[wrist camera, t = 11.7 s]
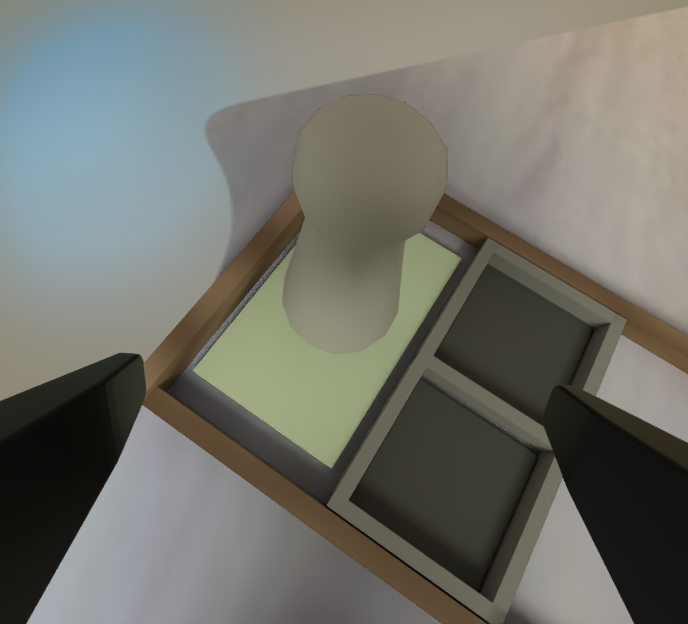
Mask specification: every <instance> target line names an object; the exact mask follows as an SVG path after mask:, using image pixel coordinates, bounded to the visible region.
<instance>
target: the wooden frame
mask: <svg viewBox="0 0 688 624" xmlns="http://www.w3.org/2000/svg"><path fill="white" fill-rule="evenodd" d="M304 219H305V216H304V213H303V211H302V208H301V206H300V203H299V201H298V199H297V196H296V194H295V191H294V192H293V193H292V194H291V195H290V196H289V198H288V199H287V200H286V201H285V202H284V203H283V204H282V206H281V207H280V208H279V209H278V210H277V211H276V212H275V214H274V215H273V216H272V217H271V218H270V219H269V221H268V222H267V223H266V224H265V225H264V226H263V227H262V229H261V230H260V231H259V232H258V233H257V234H256V235H255V237H254V238H253V239H252V240H251V241H250V242H249V243H248V245H247V246H246V247H245V248H244V249H243V250H242V251H241V253H240V254H239V255H238V256H237V257H236V258H235V259H234V261H233V262H232V263H231V264H230V265H229V266H228V268H227V269H226V270H225V271H224V272H223V273H222V274H221V276H220V277H219V278H218V279H217V280H216V281H215V282H214V284H213V285H212V286H211V287H210V288H209V289H208V290H207V292H206V293H205V294H204V295H203V296H202V297H201V299H200V300H199V301H198V302H197V303H196V304H195V306H194V307H193V308H192V309H191V310H190V311H189V312H188V313H187V315H186V316H185V317H184V318H183V319H182V320H181V321H180V323H179V324H178V325H177V326H176V327H175V328H174V329H173V331H172V332H171V333H170V334H169V335H168V336H167V338H166V339H165V340H164V341H163V342H162V343H161V344H160V346H159V347H158V348H157V349H156V350H155V351H154V352H153V353H152V355H151V356H150V357H149V358H148V359H147V360H146V362H145V363H144V371H145V379H146V395H145V399H144V401H143V404H142V405H144V406H145V407H146V408H148V409H149V410H150V411H152V412H153V413H154V414H156V415H157V416H159V417H160V418H161V419H163V420H164V421H165V422H167V423H168V424H170V425H171V426H172V427H174V428H175V429H176V430H178V431H179V432H181V433H182V434H183V435H185V436H186V437H187V438H189V439H190V440H191V441H193V442H194V443H196V444H197V445H198V446H200V447H201V448H202V449H204V450H205V451H207V452H208V453H209V454H211V455H212V456H213V457H215V458H216V459H217V460H219V461H220V462H222V463H223V464H224V465H226V466H227V467H228V468H230V469H231V470H233V471H234V472H235V473H237V474H238V475H239V476H241V477H242V478H243V479H245V480H246V481H248V482H249V483H250V484H252V485H253V486H254V487H256V488H257V489H259V490H260V491H261V492H263V493H264V494H265V495H267V496H268V497H269V498H271V499H272V500H274V501H275V502H276V503H278V504H279V505H280V506H282V507H283V508H285V509H286V510H287V511H289V512H290V513H291V514H293V515H294V516H295V517H297V518H298V519H300V520H301V521H302V522H304V523H305V524H306V525H308V526H309V527H311V528H312V529H313V530H315V531H316V532H317V533H319V534H320V535H321V536H323V537H324V538H326V539H327V540H328V541H330V542H331V543H332V544H334V545H335V546H337V547H338V548H339V549H341V550H342V551H343V552H345V553H346V554H347V555H349V556H350V557H352V558H353V559H354V560H356V561H357V562H358V563H360V564H361V565H363V566H364V567H365V568H367V569H368V570H369V571H371V572H372V573H373V574H375V575H376V576H378V577H379V578H380V579H382V580H383V581H384V582H386V583H387V584H389V585H390V586H391V587H393V588H394V589H395V590H397V591H398V592H400V593H401V594H402V595H404V596H405V597H406V598H408V599H409V600H410V601H412V602H413V603H415V604H416V605H417V606H419V607H420V608H421V609H423V610H424V611H426V612H427V613H428V614H430V615H431V616H432V617H434V618H435V619H436V620H438V621H439V622H441V623H442V624H490V623H488V622H487V621H486V620H484V619H483V618H481V617H480V616H479V615H477V614H476V613H474V612H473V611H472V610H470V609H469V608H468V607H466V606H465V605H463V604H462V603H461V602H459V601H458V600H456V599H455V598H454V597H452V596H451V595H449V594H448V593H447V592H445V591H444V590H443V589H441V588H440V587H438V586H437V585H436V584H434V583H433V582H431V581H430V580H429V579H427V578H426V577H424V576H423V575H422V574H420V573H419V572H417V571H416V570H415V569H413V568H412V567H411V566H409V565H408V564H406V563H405V562H404V561H402V560H401V559H399V558H398V557H397V556H395V555H394V554H392V553H391V552H390V551H388V550H387V549H386V548H384V547H383V546H381V545H380V544H379V543H377V542H376V541H374V540H373V539H372V538H370V537H369V536H367V535H366V534H365V533H363V532H362V531H360V530H359V529H358V528H356V527H355V526H354V525H352V524H351V523H349V522H348V521H347V520H345V519H344V518H342V517H341V516H340V515H338V514H337V513H335V512H334V511H333V510H331V509H330V508H328V507H327V506H326V505H324V504H323V503H322V502H320V501H319V500H317V499H316V498H315V497H313V496H312V495H310V494H309V493H308V492H306V491H305V490H303V489H302V488H301V487H299V486H298V485H297V484H295V483H294V482H292V481H291V480H290V479H288V478H287V477H285V476H284V475H283V474H281V473H280V472H278V471H277V470H276V469H274V468H273V467H271V466H270V465H269V464H267V463H266V462H265V461H263V460H262V459H260V458H259V457H258V456H256V455H255V454H253V453H252V452H251V451H249V450H248V449H246V448H245V447H244V446H242V445H241V444H239V443H238V442H237V441H235V440H234V439H233V438H231V437H230V436H228V435H227V434H226V433H224V432H223V431H221V430H220V429H219V428H217V427H216V426H214V425H213V424H212V423H210V422H209V421H208V420H206V419H205V418H203V417H202V416H201V415H199V414H198V413H196V412H195V411H194V410H192V409H191V408H189V407H188V406H187V405H185V404H184V403H182V402H181V401H180V400H178V399H177V398H176V397H174V396H173V395H171V394H170V393H169V392H167V390H168V389H169V388H170V387H171V386H172V384H173V383H174V382H175V381H176V379H177V378H178V377H179V376H180V375H181V373H182V372H183V371H184V370H185V369H186V367H187V366H188V365H189V364H190V363H191V361H192V360H193V359H194V358H195V356H196V355H197V354H198V353H199V352H200V350H201V349H202V348H203V347H204V346H205V344H206V343H207V342H208V341H209V340H210V338H211V337H212V336H213V335H214V333H215V332H216V331H217V330H218V329H219V327H220V326H221V325H222V324H223V323H224V321H225V320H226V319H227V318H228V317H229V315H230V314H231V313H232V312H233V310H234V309H235V308H236V307H237V306H238V304H239V303H240V302H241V301H242V300H243V298H244V297H245V296H246V295H247V294H248V292H249V291H250V290H251V289H252V288H253V286H254V285H255V284H256V283H257V281H258V280H259V279H260V278H261V277H262V275H263V274H264V273H265V272H266V271H267V269H268V268H269V267H270V266H271V265H272V263H273V262H274V261H275V260H276V258H277V257H278V256H279V255H280V254H281V252H282V251H283V250H284V249H285V248H286V246H287V245H288V244H289V243H290V242H291V240H292V239H293V238H294V237H295V235H296V234H297V233H298V232H299V231H300V229H301V227H302V224H303V221H304ZM430 220H432V221H433V222H435V223H437V224H438V225H440V226H442V227H443V228H445V229H447V230H448V231H450V232H452V233H453V234H455V235H457V236H458V237H460V238H462V239H463V240H465V241H467V242H468V243H470V244H472V245H473V246H475V247H477V248H478V249H479V248H480V247H481V246H482V245H483V243H484V242H485V241H486V240H487V239H488V238H490V239H492V240H493V241H495V242H497V243H498V244H500V245H502V246H504V247H505V248H507V249H509V250H510V251H512V252H514V253H515V254H517V255H519V256H520V257H522V258H524V259H525V260H527V261H529V262H531V263H532V264H534V265H536V266H537V267H539V268H541V269H542V270H544V271H546V272H547V273H549V274H551V275H552V276H554V277H556V278H557V279H559V280H561V281H563V282H564V283H566V284H568V285H569V286H571V287H573V288H574V289H576V290H578V291H579V292H581V293H583V294H584V295H586V296H588V297H590V298H591V299H593V300H595V301H596V302H598V303H600V304H601V305H603V306H605V307H606V308H608V309H610V310H611V311H613V312H615V313H616V314H618V315H620V316H622V317H623V318H625V319H627V321H626V323H625V325H624V328H623V330H622V333H621V334H622V335H624V336H625V337H627V338H629V339H630V340H632V341H634V342H635V343H637V344H639V345H640V346H642V347H644V348H645V349H647V350H649V351H650V352H652V353H654V354H655V355H657V356H659V357H660V358H662V359H664V360H665V361H667V362H669V363H670V364H672V365H674V366H675V367H677V368H679V369H680V370H682V371H684V372H685V373H687V374H688V337H687V336H686V335H684V334H682V333H681V332H679V331H677V330H675V329H674V328H672V327H670V326H669V325H667V324H665V323H664V322H662V321H660V320H658V319H657V318H655V317H653V316H652V315H650V314H648V313H647V312H645V311H643V310H641V309H640V308H638V307H636V306H635V305H633V304H631V303H630V302H628V301H626V300H624V299H623V298H621V297H619V296H618V295H616V294H614V293H613V292H611V291H609V290H607V289H606V288H604V287H602V286H601V285H599V284H597V283H595V282H594V281H592V280H590V279H589V278H587V277H585V276H584V275H582V274H580V273H578V272H577V271H575V270H573V269H572V268H570V267H568V266H567V265H565V264H563V263H561V262H560V261H558V260H556V259H555V258H553V257H551V256H550V255H548V254H546V253H544V252H543V251H541V250H539V249H538V248H536V247H534V246H533V245H531V244H529V243H527V242H526V241H524V240H522V239H521V238H519V237H517V236H515V235H514V234H512V233H510V232H509V231H507V230H505V229H504V228H502V227H500V226H498V225H497V224H495V223H493V222H492V221H490V220H488V219H487V218H485V217H483V216H481V215H480V214H478V213H476V212H475V211H473V210H471V209H470V208H468V207H466V206H464V205H463V204H461V203H459V202H458V201H456V200H454V199H452V198H451V197H449V196H447V195H446V194H443V196H442V197H441V199H440V201H439V203H438V205H437V206H436V208H435V210H434V212H433V214H432V215H431V217H430Z"/></svg>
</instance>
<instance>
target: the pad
mask: <svg viewBox="0 0 688 624" xmlns="http://www.w3.org/2000/svg"><path fill="white" fill-rule="evenodd" d="M294 248H295V246H294V247H293V248H292V250H291V251H290V252H289V253H288V255H287V256H286V257H285V258H284V259H283V261H282V262H281V263H280V264H279V266H278V267H277V268H276V269H275V270H274V272H273V273H272V274H271V275H270V277H269V278H268V279H267V280H266V281H265V283H264V284H263V285H262V286H261V288H260V289H259V290H258V291H257V292H256V294H255V295H254V296H253V297H252V299H251V300H250V301H249V302H248V303H247V305H246V306H245V307H244V308H243V310H242V311H241V312H240V313H239V314H238V316H237V317H236V318H235V319H234V321H233V322H232V323H231V324H230V325H229V327H228V328H227V329H226V330H225V332H224V333H223V334H222V335H221V336H220V338H219V339H218V340H217V341H216V343H215V344H214V345H213V346H212V347H211V349H210V350H209V351H208V352H207V354H206V355H205V356H204V357H203V358H202V360H201V361H200V362H199V363H198V365H197V366H196V367H195V368H194V369H193V372H194V373H196V374H197V375H199V376H200V377H202V378H203V379H204V380H206V381H207V382H209V383H210V384H211V385H213V386H214V387H216V388H217V389H219V390H220V391H221V392H223V393H224V394H226V395H227V396H229V397H230V398H231V399H233V400H234V401H236V402H237V403H238V404H240V405H241V406H243V407H244V408H246V409H247V410H248V411H250V412H251V413H253V414H254V415H255V416H257V417H258V418H260V419H261V420H263V421H264V422H265V423H267V424H268V425H270V426H271V427H272V428H274V429H275V430H277V431H278V432H280V433H281V434H282V435H284V436H285V437H287V438H288V439H289V440H291V441H292V442H294V443H295V444H297V445H298V446H299V447H301V448H302V449H304V450H305V451H307V452H308V453H309V454H311V455H312V456H314V457H315V458H316V459H318V460H319V461H321V462H322V463H324V464H325V465H326V466H328V467H329V468H331V469H332V467H333V466H334V464H335V462H336V461H337V459H338V457H339V456H340V454H341V453H342V451H343V449H344V448H345V446H346V445H347V443H348V441H349V440H350V438H351V436H352V435H353V433H354V432H355V430H356V428H357V427H358V425H359V424H360V422H361V420H362V419H363V417H364V415H365V414H366V412H367V411H368V409H369V407H370V406H371V404H372V403H373V401H374V399H375V398H376V396H377V394H378V393H379V391H380V390H381V388H382V386H383V385H384V383H385V382H386V380H387V378H388V377H389V375H390V373H391V372H392V370H393V369H394V367H395V365H396V364H397V362H398V361H399V359H400V357H401V356H402V354H403V352H404V351H405V349H406V348H407V346H408V344H409V343H410V341H411V340H412V338H413V336H414V335H415V333H416V332H417V330H418V328H419V327H420V325H421V323H422V322H423V320H424V319H425V317H426V315H427V314H428V312H429V311H430V309H431V307H432V306H433V304H434V302H435V301H436V299H437V298H438V296H439V294H440V293H441V291H442V290H443V288H444V286H445V285H446V283H447V281H448V280H449V278H450V277H451V275H452V273H453V272H454V270H455V269H456V267H457V265H458V264H459V262H460V260H461V259H462V258H460V257H459V256H457V255H455V254H454V253H452V252H450V251H449V250H447V249H446V248H444V247H442V246H441V245H439V244H437V243H436V242H434V241H432V240H431V239H429V238H427V237H426V236H424V235H422V234H421V233H417V234H416V235H414V236H412V237H411V238H409V239H407V240H406V241H405V247H404V254H403V263H402V274H401V285H400V296H399V307H398V314H397V316H396V317H395V319H394V321H393V323H392V325H391V327H390V328H389V330H388V332H387V334H386V335H385V336H383V337H382V338H380V339H379V340H377V341H376V342H374V343H373V344H371V345H370V346H369V347H367V348H366V349H364V350H363V351H356V352H349V353H342V354H334V353H331V352H328V351H325V350H322V349H319V348H315V347H312V346H311V345H310V344H309V343H308V342H306V341H305V340H304V339H303V338H302V337H301V336H300V335H299V334H298V333H296V332H295V331H294V330H293V329H292V328H291V326H290V323H289V321H288V318H287V315H286V312H285V309H284V307H283V304H282V297H283V288H284V278H285V275H286V272H287V269H288V266H289V263H290V260H291V257H292V254H293V251H294Z"/></svg>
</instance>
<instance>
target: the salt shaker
mask: <svg viewBox="0 0 688 624" xmlns="http://www.w3.org/2000/svg"><path fill="white" fill-rule="evenodd" d="M292 178H293V185H294V191H295V194H296V196H297V199H298V201H299V203H300V206H301V208H302V211H303V213H304V216H305V219H304V221H303V224H302V227H301V230H300V233H299V236H298V239H297V242H296V245H295V248H294V251H293V254H292V257H291V260H290V263H289V266H288V269H287V272H286V275H285V278H284V288H283V297H282V304H283V307H284V309H285V312H286V315H287V318H288V321H289V323H290V326H291V328H292V329H293V330H294V331H295V332H296V333H298V334H299V335H300V336H301V337H302V338H303V339H304V340H305V341H306V342H308V343H309V344H310V345H311V346H312V347H315V348H319V349H322V350H325V351H328V352H331V353H334V354H342V353H349V352H356V351H363V350H364V349H366V348H367V347H369V346H370V345H371V344H373V343H374V342H376V341H377V340H379V339H380V338H382V337H383V336H385V335H386V334H387V332H388V330H389V328H390V327H391V325H392V323H393V321H394V319H395V317H396V316H397V314H398V307H399V296H400V285H401V274H402V263H403V254H404V247H405V241H406V240H407V239H409V238H411V237H412V236H414V235H416V234H417V233H419V232H421V231H422V230H423V229H424V227H425V226H426V224H427V222H428V221H429V219H430V217H431V215H432V214H433V212H434V210H435V208H436V206H437V205H438V203H439V201H440V199H441V197H442V196H443V194H444V191H445V186H446V182H447V178H448V161H447V147H446V146H445V144H444V142H443V141H442V139H441V137H440V136H439V134H438V132H437V131H436V129H435V127H434V126H433V124H432V123H431V122H430V121H429V120H428V119H427V118H425V117H424V116H423V115H422V114H420V113H419V112H418V111H416V110H415V109H414V108H412V107H411V106H410V105H408V104H407V103H406V102H403V101H399V100H396V99H392V98H389V97H386V96H382V95H379V94H375V95H351V96H346V97H343V98H341V99H339V100H337V101H334V102H332V103H330V104H328V105H326V106H324V107H322V108H320V109H318V110H316V112H315V113H314V114H313V115H312V116H311V118H310V119H309V120H308V121H307V122H306V124H305V125H304V126H303V127H302V128H301V130H300V131H299V134H298V138H297V143H296V148H295V156H294V165H293V174H292Z"/></svg>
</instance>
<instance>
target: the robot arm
mask: <svg viewBox="0 0 688 624" xmlns="http://www.w3.org/2000/svg"><path fill="white" fill-rule="evenodd" d="M145 395H146V379H145V371H144V362H143V359H142V357H141V356H140V355H139V354H132V353H118V354H116V355H113V356H111V357H108V358H106V359H103V360H101V361H98V362H96V363H93V364H91V365H88V366H86V367H83V368H81V369H79V370H76V371H73V372H71V373H68V374H66V375H64V376H61V377H59V378H56V379H54V380H51V381H49V382H46V383H44V384H41V385H39V386H36V387H34V388H31V389H29V390H26V391H24V392H21V393H19V394H16V395H14V396H12V397H9V398H7V399H4V400H2V401H0V624H26V623H27V622H28V620H29V618H30V616H31V614H32V613H33V611H34V609H35V607H36V606H37V604H38V602H39V600H40V599H41V597H42V595H43V593H44V591H45V590H46V588H47V586H48V584H49V583H50V581H51V579H52V577H53V575H54V574H55V572H56V570H57V568H58V567H59V565H60V563H61V561H62V560H63V558H64V556H65V554H66V552H67V551H68V549H69V547H70V545H71V544H72V542H73V540H74V538H75V537H76V535H77V533H78V531H79V529H80V528H81V526H82V524H83V522H84V521H85V519H86V517H87V515H88V514H89V512H90V510H91V508H92V506H93V505H94V503H95V501H96V499H97V498H98V496H99V494H100V492H101V491H102V489H103V487H104V485H105V483H106V482H107V480H108V478H109V476H110V475H111V473H112V471H113V469H114V467H115V465H116V464H117V462H118V460H119V457H120V455H121V453H122V451H123V448H124V446H125V444H126V441H127V439H128V437H129V434H130V432H131V430H132V427H133V425H134V422H135V420H136V418H137V415H138V413H139V411H140V408H141V406H142V404H143V401H144V399H145ZM542 421H543V426H544V429H545V431H546V434H547V437H548V439H549V442H550V445H551V447H552V450H553V453H554V455H555V458H556V461H557V463H558V466H559V469H560V471H561V474H562V477H563V479H564V481H565V484H566V486H567V488H568V491H569V493H570V495H571V497H572V499H573V501H574V503H575V505H576V507H577V509H578V511H579V513H580V515H581V517H582V519H583V521H584V523H585V525H586V527H587V529H588V531H589V533H590V536H591V538H592V540H593V542H594V544H595V546H596V548H597V550H598V552H599V554H600V556H601V558H602V560H603V562H604V564H605V566H606V568H607V570H608V572H609V574H610V576H611V578H612V580H613V582H614V584H615V586H616V588H617V590H618V592H619V594H620V596H621V598H622V600H623V602H624V604H625V606H626V608H627V610H628V612H629V614H630V616H631V618H632V620H633V622H634V624H688V443H687V442H685V441H683V440H681V439H679V438H677V437H675V436H673V435H671V434H669V433H667V432H665V431H663V430H661V429H659V428H657V427H655V426H653V425H651V424H649V423H647V422H645V421H643V420H642V419H640V418H638V417H636V416H634V415H632V414H630V413H628V412H626V411H624V410H622V409H620V408H618V407H616V406H614V405H612V404H610V403H608V402H606V401H604V400H602V399H600V398H598V397H596V396H594V395H592V394H590V393H588V392H586V391H584V390H582V389H580V388H578V387H576V386H570V385H557V386H555V387H554V388H553V389H552V391H551V394H550V397H549V399H548V402H547V405H546V407H545V410H544V413H543V418H542Z"/></svg>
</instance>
